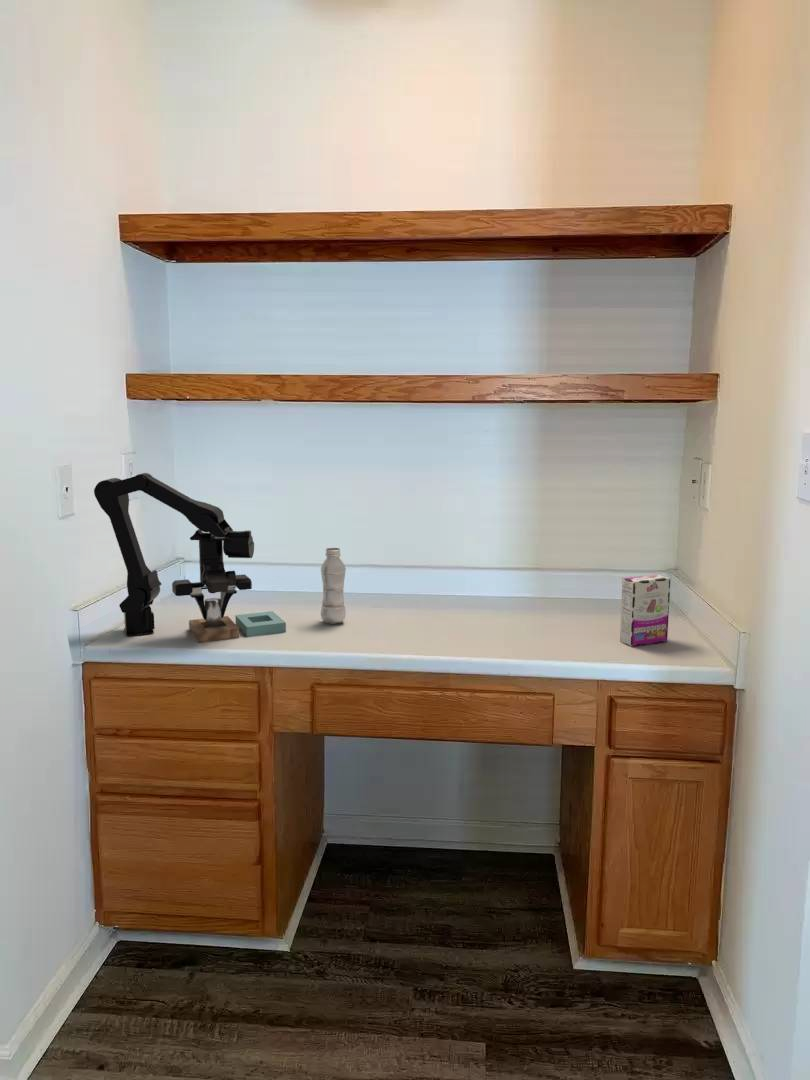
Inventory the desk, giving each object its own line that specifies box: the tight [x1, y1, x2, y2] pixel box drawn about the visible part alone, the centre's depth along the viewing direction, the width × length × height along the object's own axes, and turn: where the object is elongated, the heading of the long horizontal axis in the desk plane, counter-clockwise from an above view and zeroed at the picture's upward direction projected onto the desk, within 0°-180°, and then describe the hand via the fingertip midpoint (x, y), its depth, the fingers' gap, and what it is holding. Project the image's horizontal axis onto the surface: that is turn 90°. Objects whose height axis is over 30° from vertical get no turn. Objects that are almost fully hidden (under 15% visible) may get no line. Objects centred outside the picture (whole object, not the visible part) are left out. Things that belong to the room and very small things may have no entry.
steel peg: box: [204, 597, 222, 628], centre depth 198 cm, size 4×4×8 cm
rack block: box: [235, 611, 287, 638], centre depth 204 cm, size 10×12×2 cm
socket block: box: [188, 615, 240, 644], centre depth 199 cm, size 10×12×2 cm
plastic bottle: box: [320, 547, 347, 624], centre depth 208 cm, size 6×7×20 cm
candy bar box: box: [619, 574, 671, 647], centre depth 194 cm, size 11×5×16 cm, turn 112°
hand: (213, 618), depth 198 cm, fingers closed on steel peg, 4 cm apart
